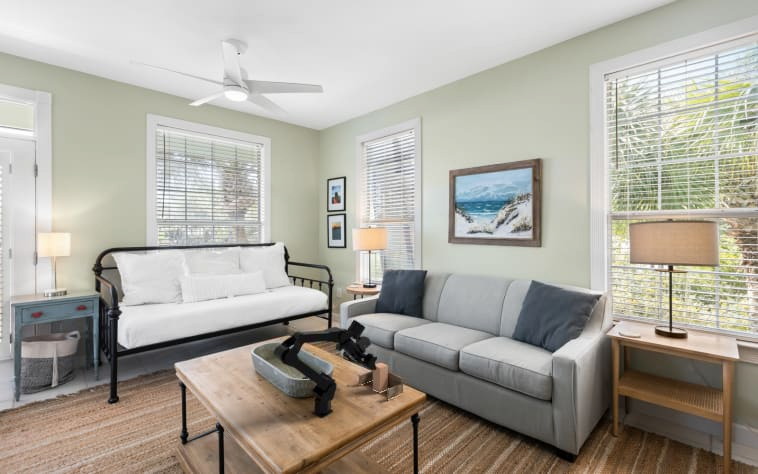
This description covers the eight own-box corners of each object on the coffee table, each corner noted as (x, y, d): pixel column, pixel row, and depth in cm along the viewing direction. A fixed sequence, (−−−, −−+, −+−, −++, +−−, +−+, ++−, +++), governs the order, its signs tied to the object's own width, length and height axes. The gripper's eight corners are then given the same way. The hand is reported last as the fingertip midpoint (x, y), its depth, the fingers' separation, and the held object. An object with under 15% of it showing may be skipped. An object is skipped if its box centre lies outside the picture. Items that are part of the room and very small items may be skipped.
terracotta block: (379, 393, 165) (380, 368, 164) (372, 389, 168) (373, 364, 168) (387, 390, 168) (387, 365, 168) (380, 387, 172) (380, 362, 172)
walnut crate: (388, 401, 157) (388, 383, 157) (358, 385, 173) (359, 369, 173) (402, 395, 164) (403, 377, 163) (373, 380, 179) (373, 364, 179)
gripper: (374, 337, 153) (392, 356, 160) (348, 328, 166) (366, 346, 174) (360, 359, 147) (379, 378, 155) (334, 348, 161) (353, 366, 169)
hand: (369, 366), depth 163 cm, fingers open, 9 cm apart
